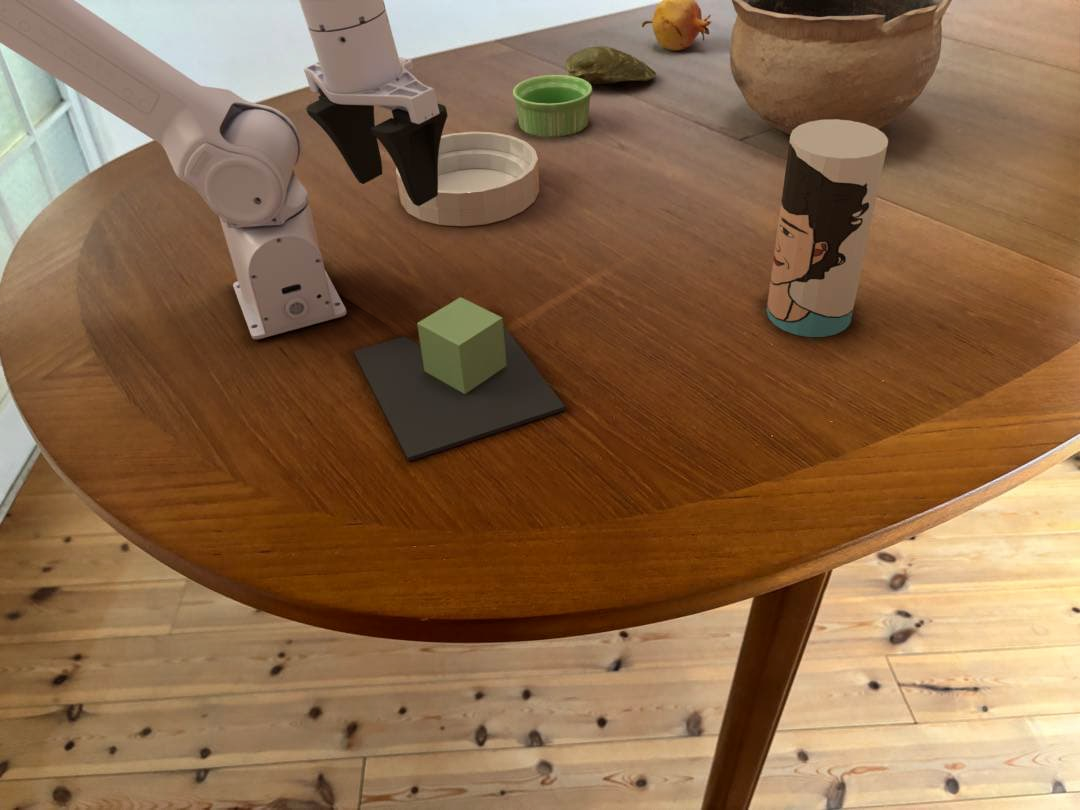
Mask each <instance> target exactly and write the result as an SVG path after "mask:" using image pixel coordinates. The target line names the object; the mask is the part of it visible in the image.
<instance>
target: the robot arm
mask: <svg viewBox="0 0 1080 810" xmlns="http://www.w3.org/2000/svg"><path fill="white" fill-rule="evenodd" d="M384 1H385V0H298V2H299V4H300V8H301V11H302V13H303V14H302V15H303V16H304V19H305V22H306V26H307V29H308V32H309V35H310V38H311V42H312V44H313V47H314V50H315V54H316V56H317V59H318V61H317V62H316V63H313V64H310V65H308V66H306V67H304V68H303V72H304V74H305V77H306V81H307V83H308V87H309V89H310V92H312V93H315V94H319V95H318V100H316V101H314V102H311V103H310V104H308V105H307V106H306V109H305V110H306V113H307V115H308V116H309V117H310V118H311V119H312V120H313V121H315V123H317V124H318V126H319V127H321V129H322V130H323V131H324V132H325V134H326V135H327V136H328V137H329V139H330V140H331V141H332V142H333V144H334V145H335V146H336V148H337V150H338V151H339V153H340V154H341V156H342V157H343V160H344V161H345V162H346V164H347V166H348V168H349V169H350V171H351V172H352V174H353V176H354V177H355V179H356V180H357V182H358V183H359V184H362V185H365V184H366V183H368V182H370V181H373V180H374V179H376V178H377V177H379V176H382V175H383V163H382V162H383V161H382V157H381V151H380V147H379V142H380V143H381V145H382V146H383V148H384V149H385V150H386V152H387V153H388V155H389V156H390V158H391V159H392V162H393V164H394V166H395V168H396V167H397V169H398V172H399V174H400V177H401V179H402V182H403V184H404V187H405V189H406V192H407V194H408V196H409V198H410V199H411V201H412V202H413V204H414V205H417V206H421V205H422V204H424V203H426V202H428V201H429V200H431V199H433V198H434V197H436V196H438V154H439V146H440V140H441V136H443V131H444V128H445V124H446V122H447V119H448V116H449V115H448V110H447V107H446V106H445V105H443V104H441V103H438V100H437V97H436V93H435V90H434V87H431V86H428V85H426V84H424V83H422V82H421V81H420V80H419V79H418V78H417V77H415V76H414V74H413V73H411V71H413V70H414V65H413V64H414V62H413V60H412V59H411V58H407V57H403V56H399V54H398V50H397V46H396V42H395V38H394V35H393V31H392V28H391V24H390V20H389V16H388V13H387V9H386V4H385V2H384ZM0 44H2V45H3V46H5V47H7V48H8V49H9V50H11V51H12V52H14V53H15V54H18V55H20V57H22V58H23V59H25V60H27V61H28V62H30V63H32V64H33V65H35V66H36V67H38V68H39V69H41V70H43V71H44V72H46V73H48V74H49V75H50V76H52V77H53V78H55V79H57V80H58V81H60V82H61V83H62V84H65V85H66V86H67V87H69V88H71V89H73V90H74V91H76V92H77V93H79V94H80V95H81V96H83V97H86V98H87V99H88V100H90V101H92V102H93V103H94V104H96V105H98V106H100V107H101V108H103V109H104V110H106V111H107V112H109V113H111V114H112V115H114V116H115V117H116V118H118V119H120V120H121V121H123V122H125V123H126V124H127V125H129V126H131V127H132V128H134V129H135V130H137V131H138V132H140V133H142V134H143V135H146V136H147V137H148V138H150V139H152V140H153V141H155V142H156V143H157V144H159V145H161V146H162V148H163V150H164V152H165V154H166V156H167V158H168V161H169V162H170V165H171V167H172V169H173V171H174V173H175V175H176V177H177V178H178V179H179V180H180V181H182V182H184V183H185V184H187V185H188V186H190V187H191V188H192V189H194V190H195V191H196V192H197V194H199V195H200V196H201V198H202V199H203V201H204V202H205V203H206V205H207V207H208V208H210V210H211V211H212V212H213V213H214V214H216V215H217V216H218V218H219V221H220V225H221V229H222V232H223V235H224V238H225V242H226V246H227V248H228V253H229V255H230V259H231V262H232V265H233V270H234V273H235V275H236V279H237V281H235V282H233V284H232V286H233V289H234V293H235V296H236V298H237V301H238V304H239V307H240V309H241V312H242V314H243V317H244V320H245V322H246V326H247V328H248V332H249V333H250V337H251V338H252V339H253V340H256V341H257V340H261V339H265V338H269V337H272V336H276V335H279V334H284V333H287V332H292V331H295V330H298V329H302V328H306V327H310V326H313V325H316V324H320V323H324V322H327V321H331V320H334V319H339V318H342V317H345V316H346V315H347V308H346V306H345V305H344V302H343V300H342V299H341V297H340V295H339V293H338V291H337V289H336V288H335V286H334V284H333V282H332V280H331V277H330V276H329V274H328V273H327V271H326V269H325V268H326V267H325V264H324V259H323V256H322V253H321V248H320V245H319V240H318V236H317V230H316V227H315V223H314V222H315V221H314V218H313V213H312V209H311V204H310V200H309V195H308V192H307V189H306V188H305V186H304V185H303V184H302V183H301V181H300V180H299V178H298V176H297V174H296V173H295V167H296V165H297V163H298V162H299V160H300V157H301V154H302V141H301V136H300V133H299V131H298V129H297V127H296V126H295V124H294V122H293V121H292V120H291V119H290V118H289V117H288V116H287V115H286V114H285V113H283V112H282V111H280V110H278V109H276V108H274V107H271V106H269V105H266V104H261V103H260V104H259V103H254V102H251V101H249V100H247V99H244V98H242V97H241V96H239V95H237V94H236V93H235V92H234V91H232V90H230V89H225V88H220V87H214V86H213V87H212V86H206V85H201V84H199V83H197V82H196V81H194V80H193V79H191V78H190V77H189V76H187V75H185V74H184V73H182V72H181V71H180V70H178V69H177V68H175V67H174V66H172V65H171V64H170V63H168V62H166V61H165V60H163V59H162V58H160V57H159V56H158V55H156V54H154V53H153V52H152V51H150V50H149V49H147V48H145V47H144V46H142V45H141V44H140V43H139V42H137V41H135V40H134V39H132V38H131V37H130V36H128V35H127V34H125V33H123V32H122V31H121V30H119V29H118V28H116V27H115V26H113V25H112V24H110V23H109V22H108V21H106V20H105V19H103V18H102V17H100V16H99V15H97V14H96V13H94V12H93V11H91V10H90V9H89V8H87V7H85V6H84V5H83V4H82V3H79V2H78V1H76V0H0ZM375 107H378V108H383V109H386V110H388V111H391V114H392V117H390V118H388V119H386V120H384V121H382V122H380V123H378V124H375V123H376V122H375Z"/></svg>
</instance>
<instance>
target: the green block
mask: <svg viewBox="0 0 1080 810" xmlns="http://www.w3.org/2000/svg"><path fill="white" fill-rule="evenodd" d="M503 319H504V318H503V317H502V316H501V315H498V314H496V313H494V312H492V311H490V310H488V309H486V308H484V307H481V306H480V305H478V304H475V302H474V303H473V302H471V301H470V300H467V299H466V298H463V297H461V296H460V297H458V298H456V299H455V300H453V301H452V302H450V303H448V304H446V305H445V306H443V307H442V308H439V309H438V310H436V311H435V312H433V313H432V314H430V315H428V316H427V317H425V318H423V319H421V320H420V321H418V322H417V323H416V325H417V332H418V338H419V344H420V345H421V352H422V358H423V365H424V371H425V372H427V373H429V374H430V375H432V376H434V377H436V378H437V379H439V380H441V381H443V382H444V383H446V384H448V385H450V386H451V387H453V388H455V389H457V390H458V391H460V392H462V393H464V394H466V393H468V392H469V391H470V390H472V389H473V388H475V387H476V386H478V385H479V384H481V383H482V382H484V381H485V380H487V379H488V378H490V377H491V376H492V375H494V374H495V373H497V372H498V371H500V370H501V369H503V368H504V367H506V366H507V365H506V353H505V341H504V329H503V326H504V320H503Z"/></svg>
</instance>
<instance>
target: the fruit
mask: <svg viewBox="0 0 1080 810" xmlns="http://www.w3.org/2000/svg"><path fill="white" fill-rule="evenodd" d="M702 14H703V13H702V10H701V7H700V5H699V4H698V2H697V0H661V1H660V2H659V3H658V4H657V6H656V8H655V10H654V12H653V17H652V20H645V21H643V22H642V24H641V27H642V28H644V27H645V26H646V25H647V24H652V31H653V34H654V36H655V39H656V41H657V43H658V44H659V46H660V47H662V48H664V49H666V50H668V51H675V52H677V51H683V50H686V49H688V48H689V47H690V46H691V45H692V44H693V42H694V40H696V38H697V37H698V36H699V33H700V34H701V36H702V41H705V35H710V30H709V28H708V27H709V26H710V24H711V23H712V21H710V20H709V19H710V18H711V16H712V15H711V14H708V15H707V16H706V17H705V18H704V19H702V17H703V16H702Z"/></svg>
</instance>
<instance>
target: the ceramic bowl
mask: <svg viewBox="0 0 1080 810" xmlns="http://www.w3.org/2000/svg"><path fill="white" fill-rule="evenodd" d="M952 1H953V0H731V3H732V5H733V9H734V11H735V13H736V19H735V21H734V24H733V26H732V29H731V35H730V40H729V41H730V44H729V65H730V70H731V75H732V78H733V80H734V82H735V84H736V85H737V87H738V89H739V91H740V93H741V95H742V96H743V98H744V99H745V101H746V103H747V105H748V106H749V107H750V108H751V109H752V110H753V111H754V112H755V113H756V114H757V115H759V116H760V118H761V119H762V120H763V121H765V122H766V123H767V124H769V125H770V126H772V127H773V128H774V129H776V130H778V131H780V132H783V133H785V134H788V135H790V136H791V133H792V131H793V130H794V129H795V128H796V127H798V126H799V125H802V124H805V123H807V122H812V121H818V120H833V119H837V120H848V121H854V122H859V123H863V124H867V125H869V126H872V127H874V128H877V129H878V130H880V129H882V128H884V127H885V126H888V125H889V124H891V123H892V122H893V121H894V120H897V118H898V117H900V116H901V115H902V114H903V113H904V112H905V111H906V110H907V109H908V108H909V107H911V105H913V103H914V102H915V101H916V100H917V99H918V98H919V96H920V95H922V93H923V91H924V89H925V88H926V86H927V85H928V83H929V82H930V80H931V78H932V77H933V75H934V73H935V70H936V68H937V66H938V64H939V60H940V57H941V51H942V49H941V48H942V41H943V40H942V39H943V38H942V37H943V35H942V34H943V26H942V20H943V17H944V15H945V14H946V12H947V10H948V8H949V6H950V4H951V3H952Z"/></svg>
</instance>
